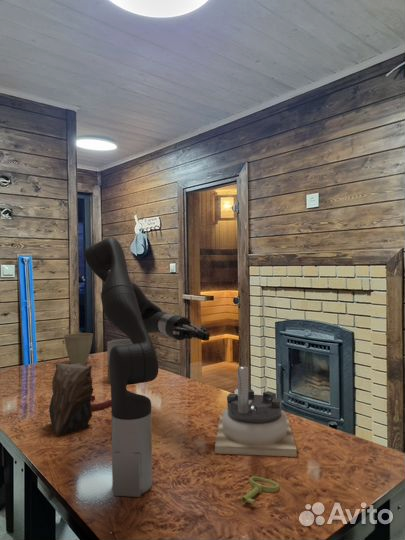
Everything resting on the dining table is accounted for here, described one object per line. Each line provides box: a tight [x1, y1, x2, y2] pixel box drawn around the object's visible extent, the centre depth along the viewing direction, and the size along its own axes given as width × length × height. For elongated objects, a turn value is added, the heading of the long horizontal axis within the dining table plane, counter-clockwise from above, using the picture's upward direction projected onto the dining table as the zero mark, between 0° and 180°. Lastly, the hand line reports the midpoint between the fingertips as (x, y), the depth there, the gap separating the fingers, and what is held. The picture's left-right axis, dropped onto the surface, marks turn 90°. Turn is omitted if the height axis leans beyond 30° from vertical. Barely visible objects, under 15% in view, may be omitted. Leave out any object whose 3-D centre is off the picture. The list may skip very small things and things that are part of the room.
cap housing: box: [222, 407, 288, 445], centre depth 118 cm, size 19×19×5 cm
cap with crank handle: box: [226, 365, 283, 424], centre depth 117 cm, size 16×21×17 cm
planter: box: [106, 338, 133, 383], centre depth 181 cm, size 13×13×18 cm
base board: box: [214, 415, 298, 458], centre depth 118 cm, size 22×22×2 cm
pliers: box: [90, 395, 111, 412], centre depth 143 cm, size 12×21×3 cm, turn 146°
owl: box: [48, 362, 94, 438], centre depth 129 cm, size 13×13×20 cm
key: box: [241, 475, 280, 505], centre depth 89 cm, size 7×12×2 cm, turn 163°
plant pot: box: [63, 332, 94, 366], centre depth 212 cm, size 15×15×16 cm
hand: (207, 337), depth 116 cm, fingers closed
